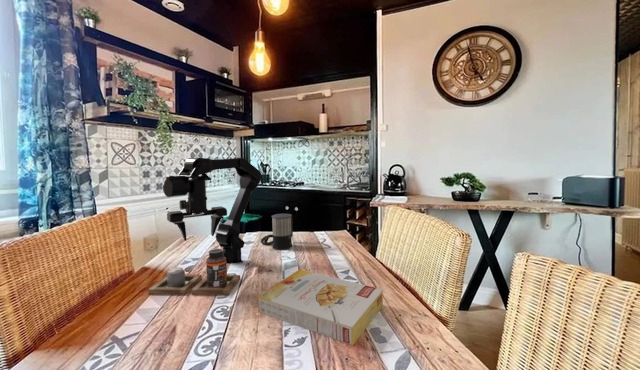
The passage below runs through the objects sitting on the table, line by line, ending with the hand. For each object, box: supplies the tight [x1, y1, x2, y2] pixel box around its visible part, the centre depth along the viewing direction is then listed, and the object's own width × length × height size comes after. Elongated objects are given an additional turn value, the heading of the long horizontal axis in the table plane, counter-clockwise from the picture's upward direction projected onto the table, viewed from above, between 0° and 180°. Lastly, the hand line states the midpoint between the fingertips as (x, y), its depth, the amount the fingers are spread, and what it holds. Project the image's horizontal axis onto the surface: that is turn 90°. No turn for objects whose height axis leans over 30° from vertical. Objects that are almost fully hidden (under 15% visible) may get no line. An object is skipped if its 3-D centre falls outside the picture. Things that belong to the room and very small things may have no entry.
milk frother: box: [260, 213, 294, 251], centre depth 136 cm, size 14×16×15 cm
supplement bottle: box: [205, 248, 228, 288], centre depth 90 cm, size 6×6×11 cm
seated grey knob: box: [166, 267, 186, 287], centre depth 91 cm, size 5×5×5 cm
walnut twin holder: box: [147, 274, 241, 296], centre depth 91 cm, size 11×24×2 cm, turn 87°
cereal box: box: [257, 268, 384, 346], centre depth 79 cm, size 20×6×28 cm
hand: (199, 238), depth 102 cm, fingers open, 9 cm apart
